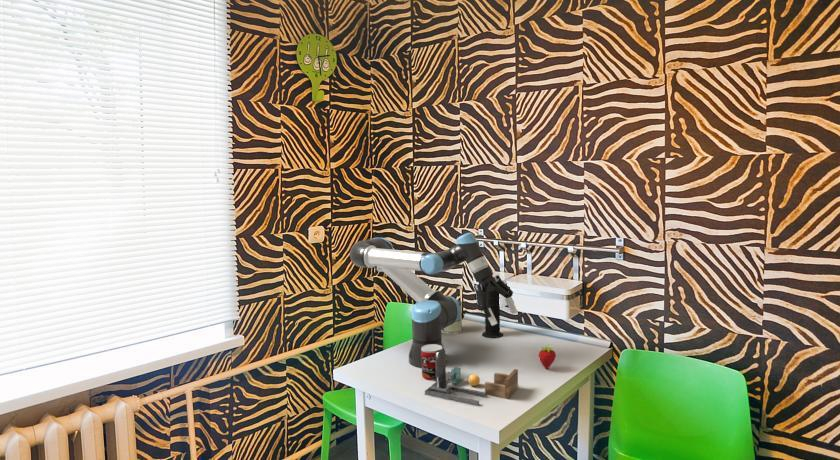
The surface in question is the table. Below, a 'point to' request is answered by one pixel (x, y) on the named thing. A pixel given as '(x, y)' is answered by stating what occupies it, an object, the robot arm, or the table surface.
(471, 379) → the ball
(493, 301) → the handle grip
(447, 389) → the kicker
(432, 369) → the canned food
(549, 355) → the strawberry
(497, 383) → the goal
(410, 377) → the table surface
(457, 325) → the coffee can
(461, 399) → the rail
